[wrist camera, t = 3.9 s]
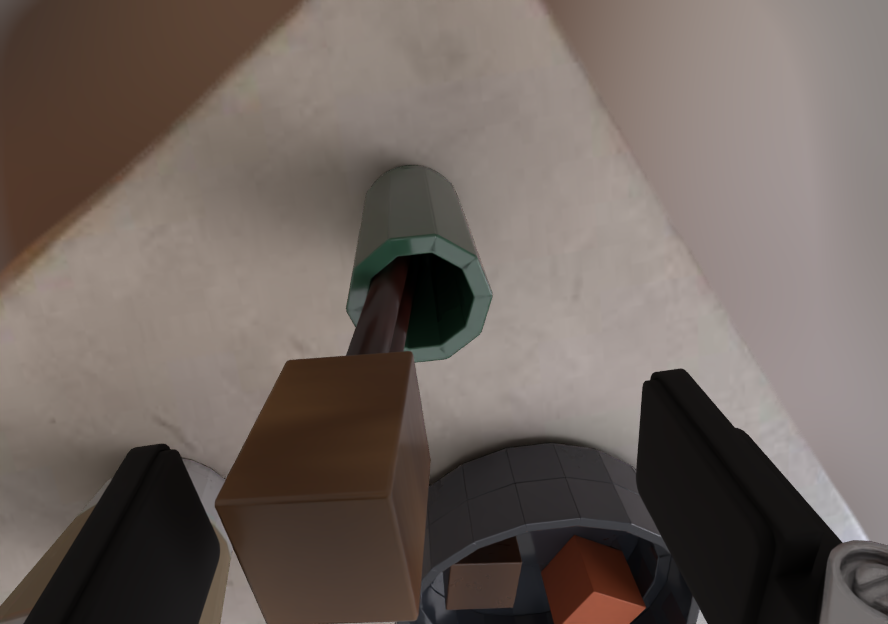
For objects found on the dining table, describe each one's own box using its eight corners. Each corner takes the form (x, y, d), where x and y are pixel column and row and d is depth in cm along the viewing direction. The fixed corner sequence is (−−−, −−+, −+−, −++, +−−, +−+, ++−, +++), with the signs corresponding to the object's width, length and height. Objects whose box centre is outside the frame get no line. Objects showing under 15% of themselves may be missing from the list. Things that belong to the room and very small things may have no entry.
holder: (471, 174, 24) (508, 249, 16) (447, 267, 26) (468, 374, 18) (373, 152, 23) (361, 219, 16) (356, 250, 25) (337, 353, 18)
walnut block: (509, 505, 33) (522, 562, 30) (502, 549, 35) (513, 608, 32) (444, 506, 33) (450, 564, 29) (440, 551, 35) (445, 610, 31)
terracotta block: (622, 550, 36) (646, 607, 33) (587, 586, 38) (607, 645, 34) (574, 534, 35) (593, 591, 32) (540, 572, 37) (555, 630, 33)
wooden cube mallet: (439, 178, 23) (390, 494, 8) (447, 248, 25) (418, 623, 10) (375, 185, 24) (210, 503, 8) (387, 253, 25) (266, 627, 10)
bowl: (701, 456, 34) (758, 537, 28) (600, 626, 41) (630, 716, 36) (429, 418, 30) (436, 501, 25) (374, 609, 38) (371, 704, 33)
